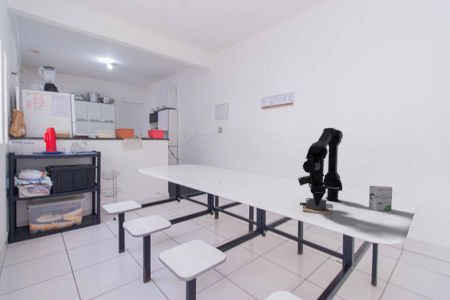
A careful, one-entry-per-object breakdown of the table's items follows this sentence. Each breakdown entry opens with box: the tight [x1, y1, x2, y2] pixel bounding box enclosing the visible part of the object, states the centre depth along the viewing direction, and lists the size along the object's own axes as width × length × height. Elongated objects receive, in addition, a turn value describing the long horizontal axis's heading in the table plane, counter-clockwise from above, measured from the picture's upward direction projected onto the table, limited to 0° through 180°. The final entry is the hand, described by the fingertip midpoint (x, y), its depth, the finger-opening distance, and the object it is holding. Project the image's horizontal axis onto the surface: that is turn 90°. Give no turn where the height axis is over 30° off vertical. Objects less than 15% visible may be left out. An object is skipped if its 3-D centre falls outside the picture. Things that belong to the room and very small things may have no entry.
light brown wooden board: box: [301, 205, 332, 216], centre depth 104 cm, size 10×12×1 cm
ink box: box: [368, 185, 393, 212], centre depth 107 cm, size 9×5×12 cm, turn 96°
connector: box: [299, 197, 334, 211], centre depth 104 cm, size 4×15×4 cm, turn 72°
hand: (315, 203), depth 103 cm, fingers open, 9 cm apart
